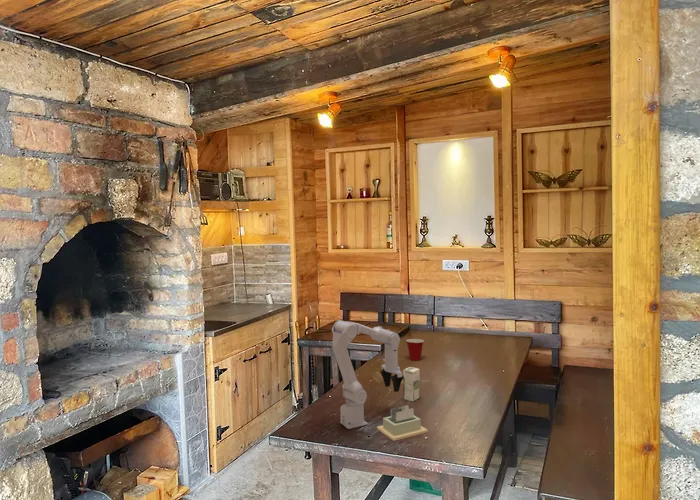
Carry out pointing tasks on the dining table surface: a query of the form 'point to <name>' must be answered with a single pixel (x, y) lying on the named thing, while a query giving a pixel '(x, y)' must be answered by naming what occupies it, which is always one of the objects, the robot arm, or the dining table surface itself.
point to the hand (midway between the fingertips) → (392, 388)
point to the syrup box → (411, 384)
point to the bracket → (402, 414)
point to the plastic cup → (415, 348)
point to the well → (401, 428)
